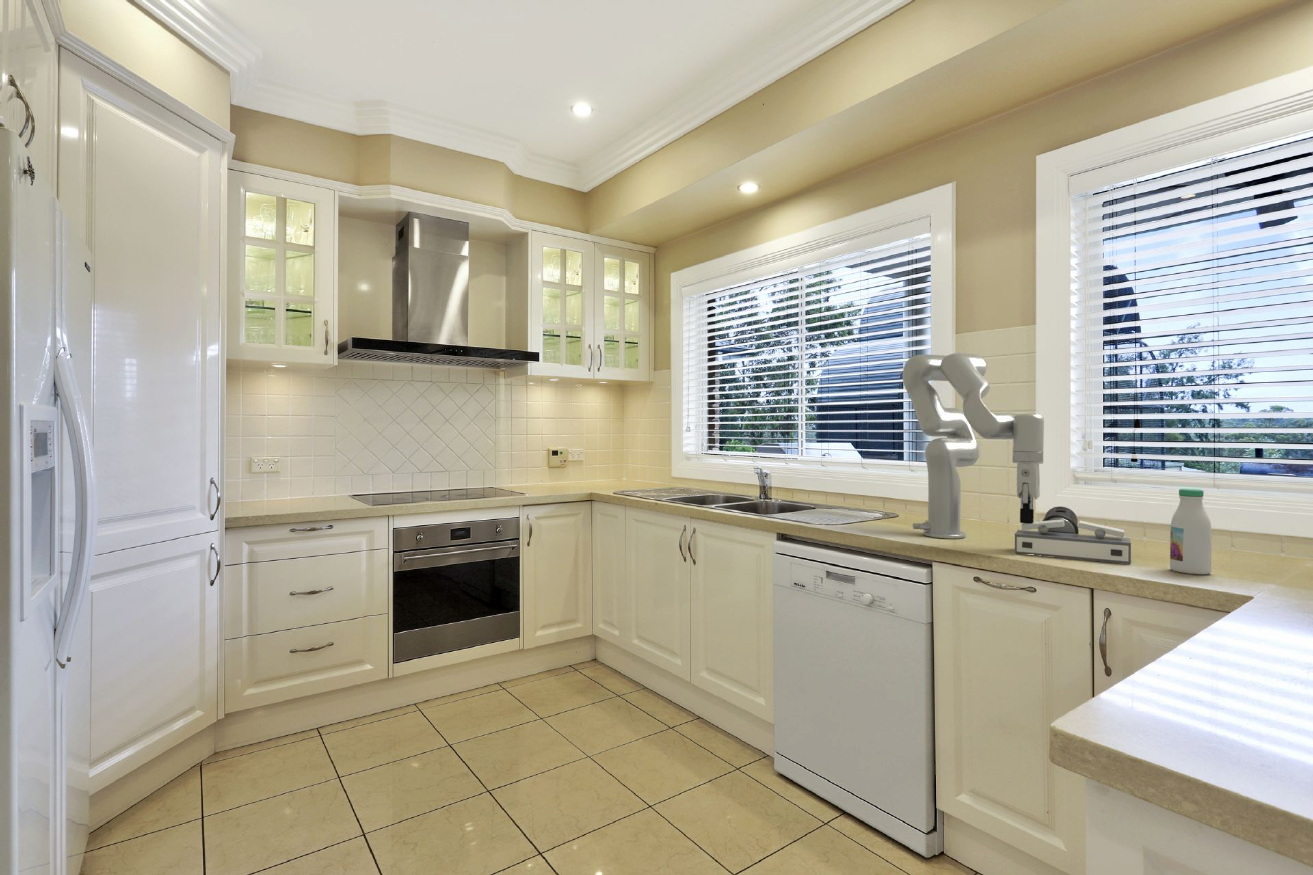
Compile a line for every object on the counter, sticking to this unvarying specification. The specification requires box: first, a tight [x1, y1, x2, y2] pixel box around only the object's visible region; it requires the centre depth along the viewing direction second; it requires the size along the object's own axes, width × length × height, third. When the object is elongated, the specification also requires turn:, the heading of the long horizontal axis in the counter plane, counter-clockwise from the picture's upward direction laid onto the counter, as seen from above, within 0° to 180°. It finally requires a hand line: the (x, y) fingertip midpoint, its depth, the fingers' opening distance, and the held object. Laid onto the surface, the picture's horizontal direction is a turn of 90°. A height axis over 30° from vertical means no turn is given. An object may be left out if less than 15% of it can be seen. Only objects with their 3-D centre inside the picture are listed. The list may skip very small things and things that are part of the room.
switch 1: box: [1021, 519, 1065, 533], centre depth 181 cm, size 10×5×3 cm, turn 56°
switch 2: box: [1078, 520, 1125, 538], centre depth 174 cm, size 10×5×3 cm, turn 56°
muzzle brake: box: [1041, 505, 1080, 534], centre depth 195 cm, size 10×28×10 cm, turn 147°
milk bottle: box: [1169, 488, 1212, 575], centre depth 158 cm, size 8×8×20 cm
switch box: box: [1014, 529, 1132, 565], centre depth 177 cm, size 26×9×6 cm, turn 56°
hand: (1026, 522), depth 183 cm, fingers closed
